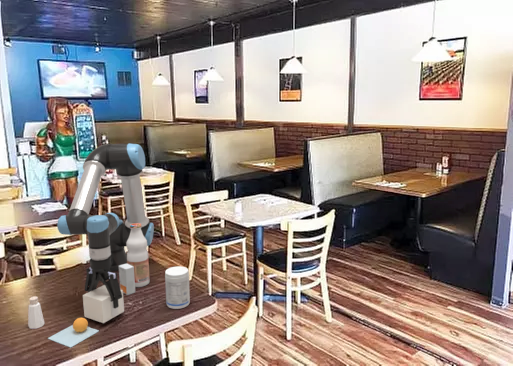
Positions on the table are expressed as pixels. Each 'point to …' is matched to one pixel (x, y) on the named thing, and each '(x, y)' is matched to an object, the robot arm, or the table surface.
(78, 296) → the table surface
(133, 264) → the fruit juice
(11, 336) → the table surface
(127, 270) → the skincare box
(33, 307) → the pepper shaker
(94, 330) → the plain pale blue panel
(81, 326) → the ball
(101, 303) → the plain cream cube
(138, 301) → the table surface
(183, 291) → the supplement tub
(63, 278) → the table surface
